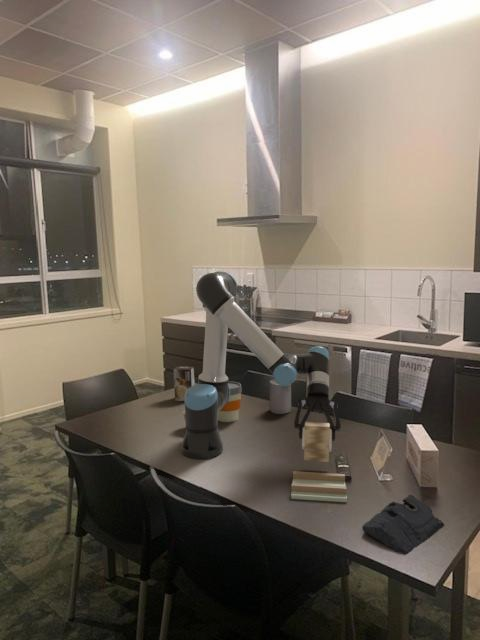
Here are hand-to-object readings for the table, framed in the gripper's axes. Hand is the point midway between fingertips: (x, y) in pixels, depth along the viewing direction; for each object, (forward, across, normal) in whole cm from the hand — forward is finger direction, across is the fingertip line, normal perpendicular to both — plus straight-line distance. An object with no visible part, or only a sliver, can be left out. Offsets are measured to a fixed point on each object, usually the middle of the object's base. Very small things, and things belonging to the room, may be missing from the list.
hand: (316, 448), depth 159 cm
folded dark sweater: (+26, -22, +14) cm, 37 cm away
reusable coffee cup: (-27, +38, -40) cm, 62 cm away
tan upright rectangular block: (+1, 0, -5) cm, 6 cm away
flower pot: (-18, +49, -31) cm, 61 cm away
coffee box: (-44, +64, -58) cm, 98 cm away
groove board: (+14, -1, +2) cm, 14 cm away
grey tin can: (-37, +16, -49) cm, 64 cm away
